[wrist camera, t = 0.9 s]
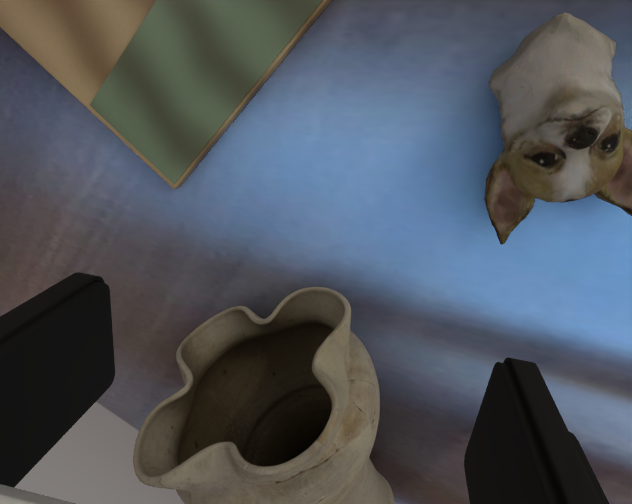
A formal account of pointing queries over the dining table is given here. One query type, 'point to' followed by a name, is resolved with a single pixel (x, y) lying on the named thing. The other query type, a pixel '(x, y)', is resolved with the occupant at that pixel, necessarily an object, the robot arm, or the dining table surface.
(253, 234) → the dining table surface
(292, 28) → the desk board
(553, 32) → the ceramic sculpture
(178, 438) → the vase
